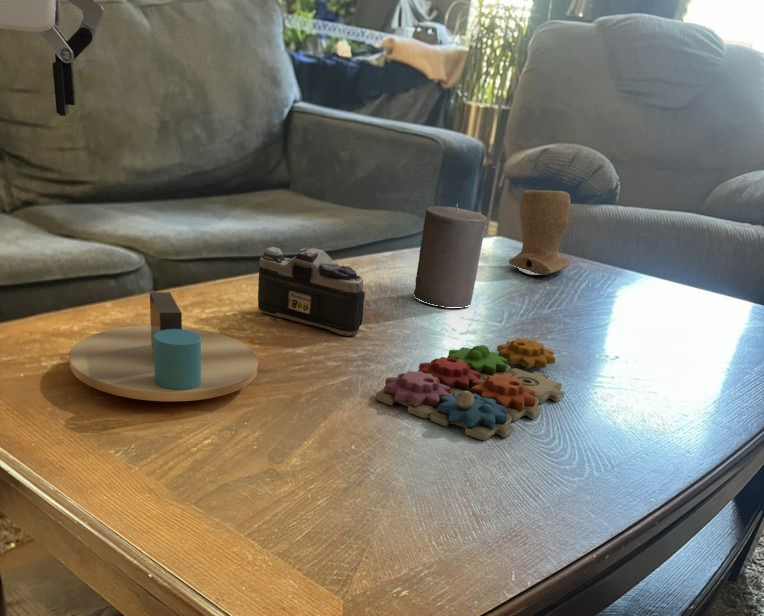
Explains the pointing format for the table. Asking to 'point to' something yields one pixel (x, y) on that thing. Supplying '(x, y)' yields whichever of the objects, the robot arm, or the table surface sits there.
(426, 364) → the gear puzzle
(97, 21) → the robot arm
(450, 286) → the pillar candle
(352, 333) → the camera
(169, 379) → the teal cylinder block
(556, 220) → the brown flared block
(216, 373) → the tray
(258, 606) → the table surface
